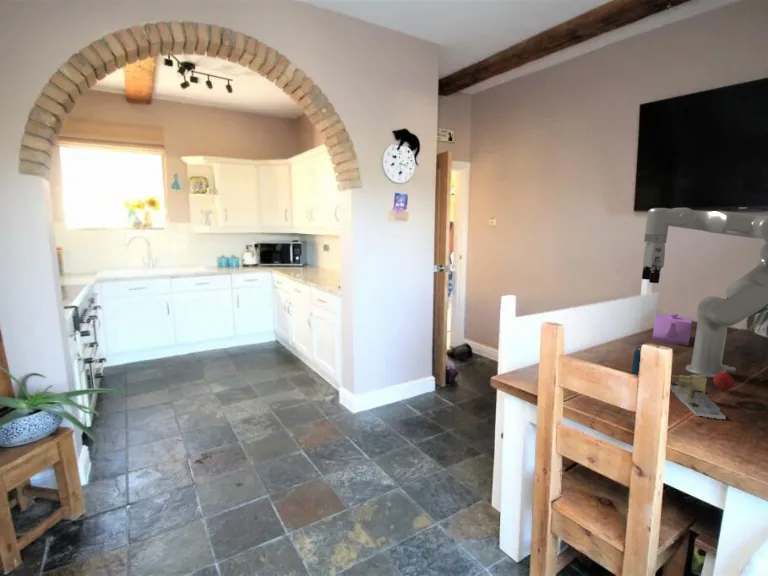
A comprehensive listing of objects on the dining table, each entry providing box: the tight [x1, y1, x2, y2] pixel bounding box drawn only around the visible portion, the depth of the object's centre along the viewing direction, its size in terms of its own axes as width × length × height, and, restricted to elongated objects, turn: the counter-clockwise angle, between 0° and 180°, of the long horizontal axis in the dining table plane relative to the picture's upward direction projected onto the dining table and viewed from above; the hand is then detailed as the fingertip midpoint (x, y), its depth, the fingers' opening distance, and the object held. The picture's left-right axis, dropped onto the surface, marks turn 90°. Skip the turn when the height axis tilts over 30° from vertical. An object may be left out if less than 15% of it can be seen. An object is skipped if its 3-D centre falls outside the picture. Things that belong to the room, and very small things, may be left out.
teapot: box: [651, 312, 693, 347], centre depth 209 cm, size 15×25×14 cm, turn 145°
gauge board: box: [670, 374, 726, 421], centre depth 141 cm, size 8×26×5 cm, turn 163°
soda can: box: [631, 346, 642, 375], centre depth 159 cm, size 7×7×12 cm
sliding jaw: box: [677, 373, 708, 395], centre depth 142 cm, size 8×2×7 cm, turn 73°
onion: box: [712, 370, 735, 392], centre depth 149 cm, size 6×6×8 cm
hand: (649, 281), depth 167 cm, fingers open, 9 cm apart
